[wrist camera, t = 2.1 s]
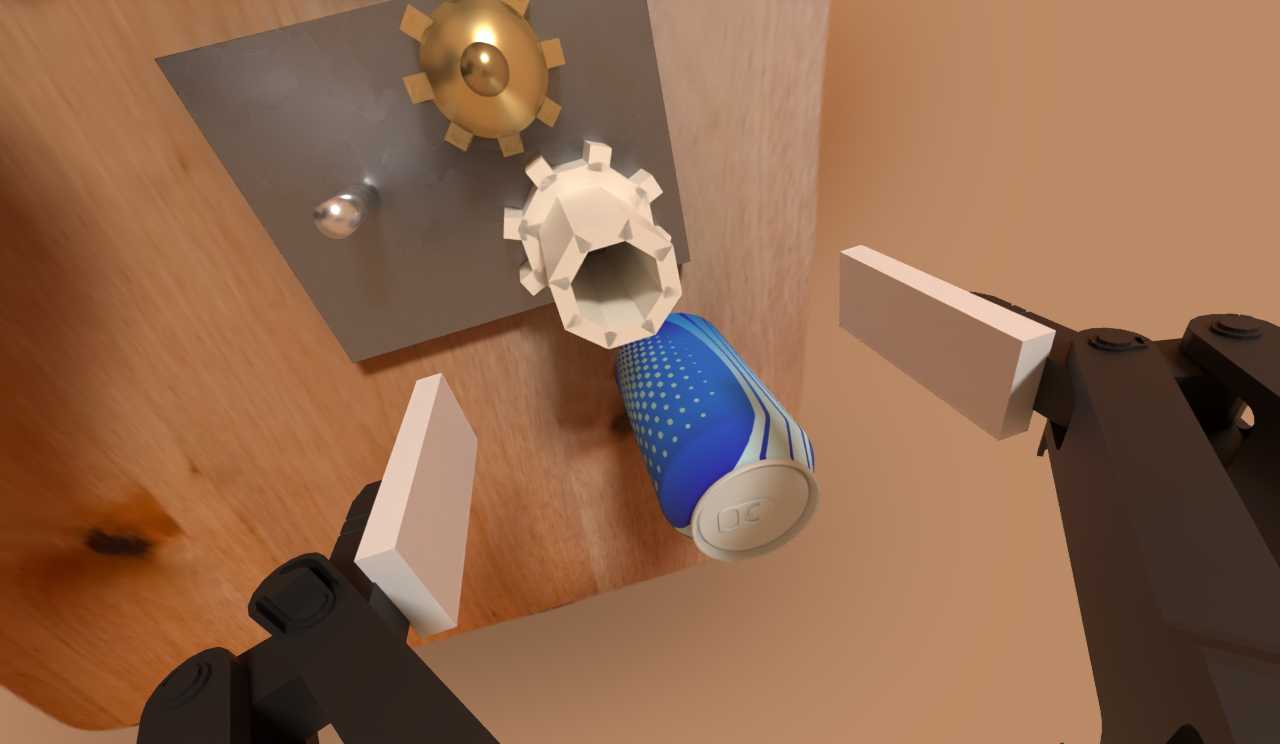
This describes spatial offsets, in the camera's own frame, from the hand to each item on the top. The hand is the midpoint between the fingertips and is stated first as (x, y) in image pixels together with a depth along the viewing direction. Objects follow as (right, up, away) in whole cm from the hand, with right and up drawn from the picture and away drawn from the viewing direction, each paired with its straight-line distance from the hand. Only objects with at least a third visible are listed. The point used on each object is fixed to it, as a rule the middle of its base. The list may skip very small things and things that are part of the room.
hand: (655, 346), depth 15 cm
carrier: (-10, +10, +12) cm, 18 cm away
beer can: (+1, 0, +21) cm, 21 cm away
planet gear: (-4, +8, +13) cm, 16 cm away
